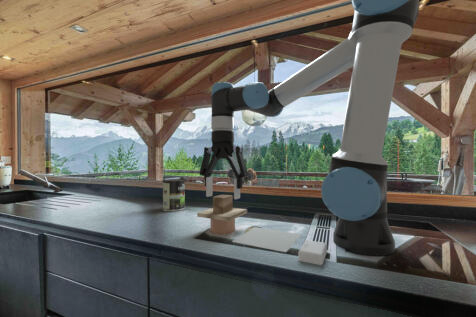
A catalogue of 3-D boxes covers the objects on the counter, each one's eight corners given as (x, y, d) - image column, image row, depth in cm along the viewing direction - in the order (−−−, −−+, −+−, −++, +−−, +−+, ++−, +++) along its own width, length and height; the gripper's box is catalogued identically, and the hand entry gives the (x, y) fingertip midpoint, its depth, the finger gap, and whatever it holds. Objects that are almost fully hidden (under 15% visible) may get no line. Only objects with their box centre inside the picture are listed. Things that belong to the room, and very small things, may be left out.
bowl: (239, 229, 79) (239, 213, 79) (226, 236, 72) (226, 218, 72) (219, 226, 83) (219, 211, 83) (205, 232, 76) (205, 215, 76)
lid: (247, 213, 80) (246, 194, 80) (229, 221, 69) (229, 200, 69) (217, 209, 86) (217, 192, 86) (197, 216, 75) (197, 197, 75)
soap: (322, 268, 52) (322, 255, 52) (297, 263, 54) (297, 250, 54) (327, 253, 60) (327, 242, 60) (305, 250, 62) (305, 238, 62)
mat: (301, 235, 73) (301, 234, 73) (286, 253, 59) (286, 252, 59) (254, 228, 81) (254, 227, 81) (231, 243, 67) (231, 241, 67)
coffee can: (188, 207, 116) (188, 179, 116) (179, 212, 106) (179, 181, 106) (169, 206, 118) (169, 178, 118) (158, 211, 108) (158, 180, 108)
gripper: (258, 130, 75) (258, 198, 75) (202, 133, 86) (202, 193, 86) (248, 127, 69) (248, 202, 69) (188, 131, 80) (188, 196, 80)
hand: (222, 197), depth 78 cm, fingers open, 10 cm apart
